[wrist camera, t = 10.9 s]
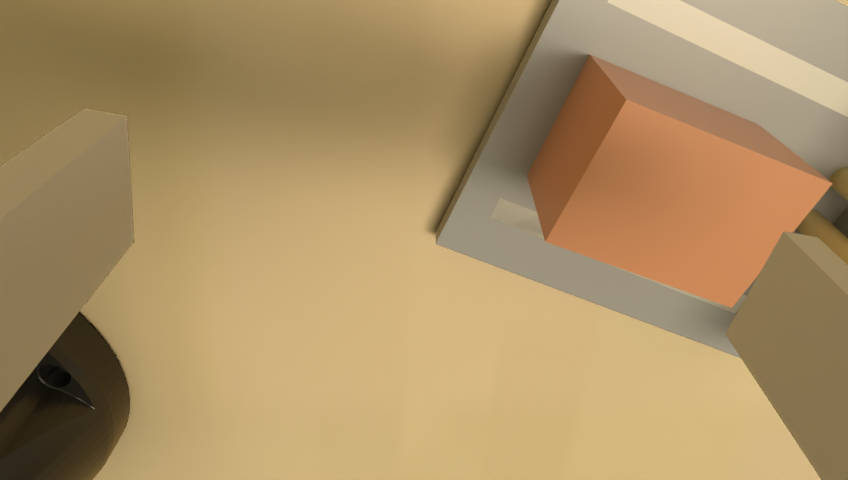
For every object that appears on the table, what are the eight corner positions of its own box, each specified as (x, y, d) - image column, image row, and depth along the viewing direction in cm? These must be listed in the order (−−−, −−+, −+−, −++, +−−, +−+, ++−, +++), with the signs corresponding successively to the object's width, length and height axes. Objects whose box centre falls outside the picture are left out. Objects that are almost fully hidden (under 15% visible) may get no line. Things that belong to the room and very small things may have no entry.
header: (435, 231, 26) (434, 337, 20) (609, -114, 20) (682, -108, 14) (743, 348, 29) (820, 470, 23) (986, 81, 23) (1183, 156, 17)
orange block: (526, 175, 24) (545, 241, 20) (589, 54, 21) (626, 99, 17) (682, 233, 25) (731, 307, 21) (758, 124, 23) (832, 183, 18)
